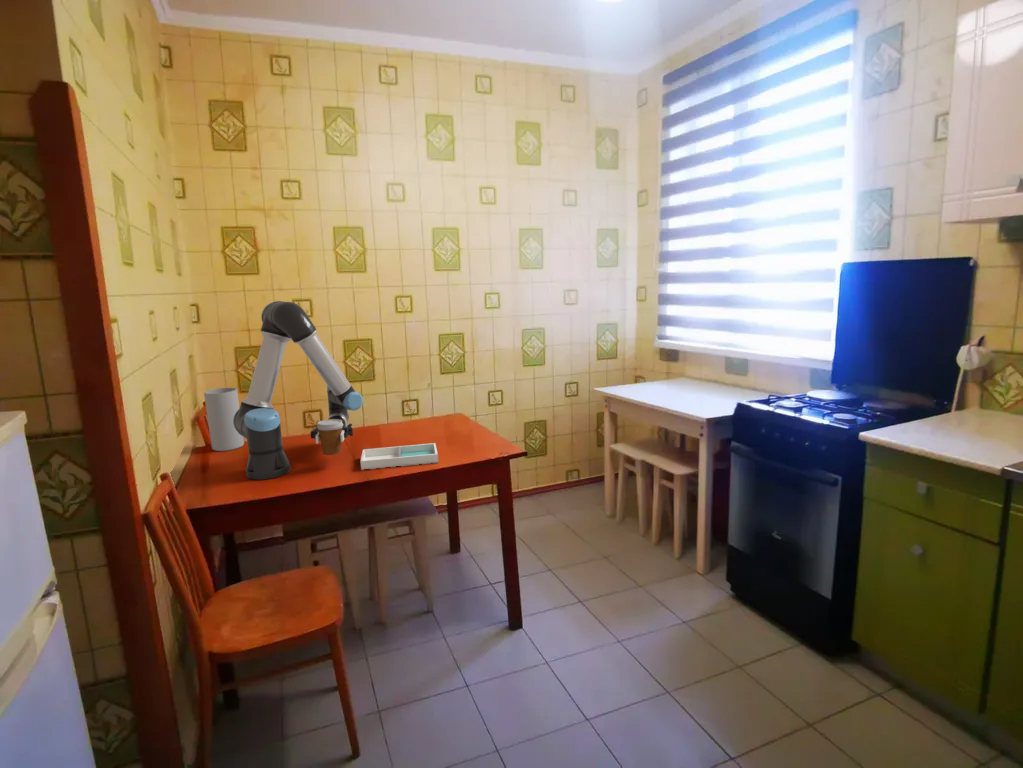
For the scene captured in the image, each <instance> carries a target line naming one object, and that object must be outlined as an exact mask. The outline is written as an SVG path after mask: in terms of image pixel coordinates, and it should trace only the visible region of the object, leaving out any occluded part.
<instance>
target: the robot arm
mask: <svg viewBox="0 0 1023 768" xmlns="http://www.w3.org/2000/svg"><path fill="white" fill-rule="evenodd" d="M260 317H261V318H260V319H261V322H262V324H261V327H260V331H259V332H260V333H261V335H262V342H261V345H260V348H259V352H258V356H257V360H256V364H255V368H254V370H253V375H252V378H251V382H250V385H249V389H248V394H247V396H246V398H244V399H241V401H240V402H241V403H240V404H239V408H240V409H239V410H238V411H237V412H236V413H235V415H234V418H233V424H234V427H235V429H236V431H237V432H238V433H239V434H240V435H241V436H243V438H245V439H246V440H247V442H246V443H247V448H248V458H247V459H248V460H247V464H246V469H245V474H246V475H245V476H246V477H247V478H248V479H250V480H257V481H258V480H260V481H261V480H269V479H275V478H278V477H281V476H284V475H285V474H288V473H289V472H291V464H290V461H289V458H288V456H287V454H286V453H285V451H284V446H283V445H284V444H283V438H282V437H283V435H282V427H281V418H280V414H279V412H278V411H277V410H276V409H274V405H273V404H272V400H273V395H274V392H275V388H276V384H277V381H278V377H279V373H280V369H281V366H282V362H283V359H284V354H285V350H286V346H287V343H289V342H291V341H292V342H293V343H294V344H298V346H299V347H300V348H301V350H302V352H303V353H304V354H305V356H306V357H307V359H308V360H309V361H310V362H311V364H312V366H313V367H314V368H315V370H316V371H317V372H318V373H319V376H320V377H321V378H322V379H323V381H324V383H326V385H327V386H326V389H327V390H326V392H327V403H328V419H327V420H329V419H339V420H342V423H343V427H342V432H341V443H343V442H345V441H344V440H345V439H346V438H348V437H353V436H354V432H353V430H354V429H353V423H348V422H349V418H350V417H349V415H350V414H349V411H353V412H355V411H358V410H360V408H362V406H363V404H364V397H363V396H362V394H361V393H359V392H357V391H356V390H355V389H354V387H353V386H352V385H351V383H350V381H349V380H348V378H347V377H346V376H345V374H344V372H343V371H342V370H341V368H340V366H339V365H338V364H337V362H336V361H335V359H334V358H333V356H332V354H331V353H330V352H329V350H328V349H327V347H326V346H325V344H324V343H323V342H322V340H321V339H320V337H319V335H318V334H317V330H318V329H317V328H316V326H315V325H314V323H313V322H312V320H311V319H310V317H309V315H308V314H307V312H306V311H305V310H304V309H303V308H302V307H301V306H300V305H299V304H297V303H296V302H294V301H293V302H292V301H281V300H277V301H276V300H275V301H272V302H270V303H268V304H267V305H266V306H265V307H264V308H263V310H262V312H261V316H260ZM310 439H313V440H315V444H317V445H319V443H320V442H321V440H320V435H319V430H318V428H317V425H316V427H315V428H313V429H312V430H311V431H310Z"/></svg>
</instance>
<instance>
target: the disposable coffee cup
mask: <svg viewBox="0 0 1023 768" xmlns="http://www.w3.org/2000/svg"><path fill="white" fill-rule="evenodd" d="M316 426H317V428H318V430H319V435H320V444H321V448H322V452H323V455H326V456H334V455H335V456H336V455H339V454H341V453H342V442H341V432H342V427H343V423H342V420H339V419H329V420H328V419H325V420H324V419H323V420H320V421H318V422H317V425H316Z"/></svg>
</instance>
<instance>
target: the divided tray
mask: <svg viewBox="0 0 1023 768" xmlns="http://www.w3.org/2000/svg"><path fill="white" fill-rule="evenodd" d="M438 453H439V452H438V449H437V443H436V442H433V443H422V444H421V443H420V444H411V445H410V444H409V445H408V444H407V445H397V446H388V447H375V448H366V449H365V448H364V449H362V453H361V456H360V462H359V463H360V471H365V470H364V469H370V470H377V469H376V468H380V469H386V468H385V467H391V468H397V467H396V466H401V467H409V466H410V467H411V465H412V466H420V465H419V464H422V465H430V464H431V463H433V464H438V463H439V454H438ZM431 465H432V464H431Z"/></svg>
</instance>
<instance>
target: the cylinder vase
mask: <svg viewBox="0 0 1023 768" xmlns="http://www.w3.org/2000/svg"><path fill="white" fill-rule="evenodd" d="M238 394H239V393H238V389H237V387H219V388H211V389H208V390H205V391H204V392H203V396H204V402H205V410H206V416H207V423H208V430H209V438H210V444H211V449H212V450H213V451H217V452H227V451H233V450H237V449H239V448H242V447H243V446H245V441H244V440H245V439H244V438H245V437H244V436H241V435H240V434H239V433H238V432H237V431H236V429H235V427H234V424H233V418H234V415H235V413H236V412H237V411H238V410H239V409H240V403H239V395H238Z"/></svg>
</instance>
